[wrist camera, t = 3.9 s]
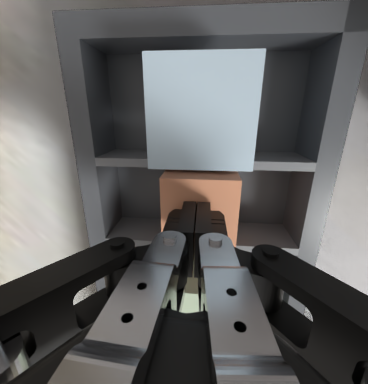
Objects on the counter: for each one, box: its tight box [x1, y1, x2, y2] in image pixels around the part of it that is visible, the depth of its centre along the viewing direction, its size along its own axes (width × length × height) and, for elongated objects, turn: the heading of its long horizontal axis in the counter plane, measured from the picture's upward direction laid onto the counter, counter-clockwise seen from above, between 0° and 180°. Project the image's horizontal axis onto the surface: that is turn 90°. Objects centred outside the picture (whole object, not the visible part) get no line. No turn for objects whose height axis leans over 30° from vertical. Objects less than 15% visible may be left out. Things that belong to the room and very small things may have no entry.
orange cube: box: [159, 169, 242, 247], centre depth 15 cm, size 4×4×4 cm
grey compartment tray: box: [52, 0, 368, 315], centre depth 17 cm, size 15×26×4 cm, turn 0°
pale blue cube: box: [142, 48, 266, 172], centre depth 10 cm, size 4×4×4 cm
